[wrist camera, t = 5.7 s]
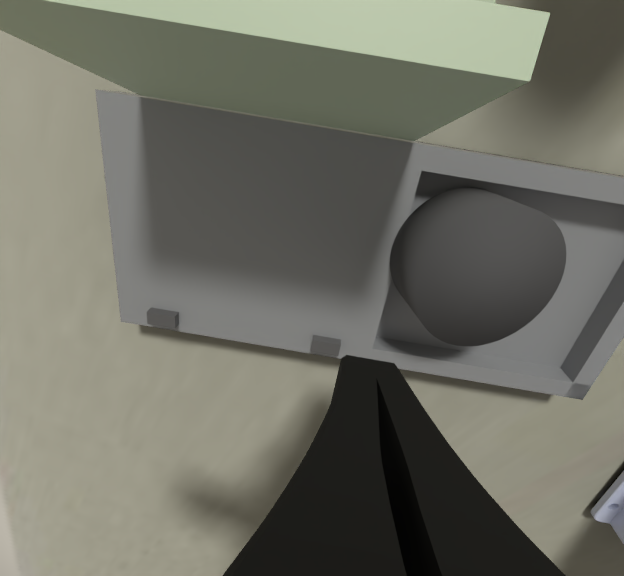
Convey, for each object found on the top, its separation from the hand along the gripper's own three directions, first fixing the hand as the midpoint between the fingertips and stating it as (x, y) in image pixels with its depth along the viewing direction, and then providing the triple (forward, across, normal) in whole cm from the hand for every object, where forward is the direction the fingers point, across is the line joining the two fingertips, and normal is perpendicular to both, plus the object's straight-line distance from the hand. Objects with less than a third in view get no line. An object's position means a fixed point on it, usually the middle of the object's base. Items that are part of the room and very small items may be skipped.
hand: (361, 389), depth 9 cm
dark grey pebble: (+6, -3, -2) cm, 7 cm away
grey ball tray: (+7, 0, -1) cm, 7 cm away
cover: (+2, +4, -6) cm, 8 cm away
